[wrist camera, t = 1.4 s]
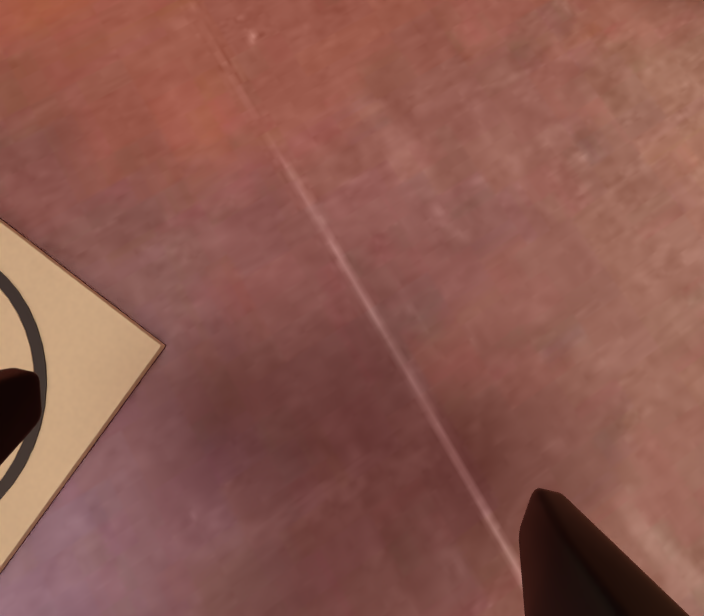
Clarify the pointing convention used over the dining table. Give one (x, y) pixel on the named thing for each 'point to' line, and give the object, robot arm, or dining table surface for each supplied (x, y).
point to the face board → (59, 375)
